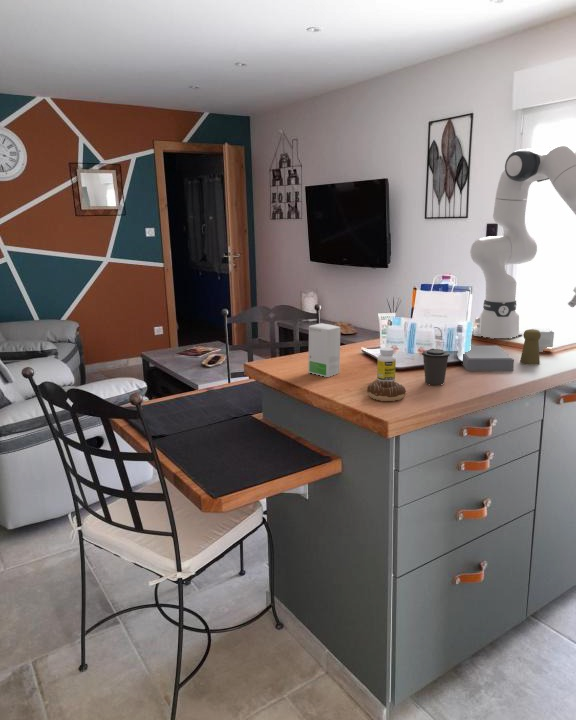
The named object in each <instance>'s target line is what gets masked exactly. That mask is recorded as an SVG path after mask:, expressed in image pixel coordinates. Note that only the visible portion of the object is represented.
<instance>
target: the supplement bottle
mask: <svg viewBox="0 0 576 720" xmlns="http://www.w3.org/2000/svg"><path fill="white" fill-rule="evenodd" d="M379 354H380V355H378V356H377V365H376V366H377V371H376V373H377V376H376V378H377V379H376V380H377V382H378V381H391V382H395V381H396V363H397V362H396V359H397V358H396V355H394V348H393V347H387V346H386V347H381V348H380V349H379Z"/></svg>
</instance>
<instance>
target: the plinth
mask: <svg viewBox="0 0 576 720" xmlns="http://www.w3.org/2000/svg"><path fill="white" fill-rule="evenodd" d="M470 346H471V350H470V351H468V352H465V354H463V364H462V366H463V367H464V368H465V371H467V372H514V366H515V359H514V358H513V357H512V356H511V355H509V354H508V353H507V352H506V351H505V350H504V349H503V348H502V347H501V346H499V345H470Z"/></svg>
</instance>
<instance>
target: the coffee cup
mask: <svg viewBox="0 0 576 720" xmlns="http://www.w3.org/2000/svg"><path fill="white" fill-rule="evenodd" d="M421 355H422V356H423V357H422V358H423V368H424V371H423V372H424V382H426V383H427V384H426V383H425V384H426V385H428V384H430V385H429V386H432V385H440V386H442V385H441V384H443V383H444V384H445V379H446V373H447V367H448V362H449V357H450V356H451V354H450V352H449V351H448V350H443V349H439V348H430V349H427V350H424V351H422V352H421ZM444 384H443V385H444Z"/></svg>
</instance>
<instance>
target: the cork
mask: <svg viewBox="0 0 576 720" xmlns="http://www.w3.org/2000/svg"><path fill="white" fill-rule="evenodd" d="M534 329H535V328H531V329H526V330H524V331H523V333H522V336H523V339H524V343H523V347H522V351H521V355H520V360H519V363H520V364H522V365H526V366H536V365H537V366H538V365H540V363H541V361H540V352H539V339H540V337H541V333H540V331H538V330H534Z"/></svg>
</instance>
